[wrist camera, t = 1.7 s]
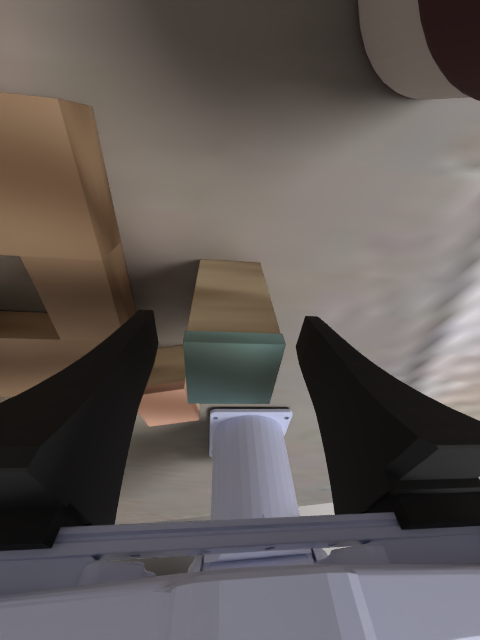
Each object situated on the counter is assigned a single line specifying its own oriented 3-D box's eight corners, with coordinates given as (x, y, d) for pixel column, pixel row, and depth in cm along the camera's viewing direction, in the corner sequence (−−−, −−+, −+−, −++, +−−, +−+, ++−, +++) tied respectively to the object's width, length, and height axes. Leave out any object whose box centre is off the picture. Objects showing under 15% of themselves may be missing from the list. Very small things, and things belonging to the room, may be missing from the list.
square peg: (253, 311, 16) (269, 403, 11) (200, 309, 16) (187, 403, 10) (261, 262, 14) (285, 344, 9) (199, 258, 14) (182, 342, 8)
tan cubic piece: (203, 374, 20) (199, 420, 17) (161, 379, 20) (149, 426, 17) (191, 342, 18) (183, 388, 15) (144, 349, 18) (126, 396, 15)
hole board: (148, 370, 19) (140, 397, 17) (-15, 368, 18) (-44, 396, 16) (91, 106, 10) (57, 98, 8) (-264, 66, 9) (-412, 44, 7)
